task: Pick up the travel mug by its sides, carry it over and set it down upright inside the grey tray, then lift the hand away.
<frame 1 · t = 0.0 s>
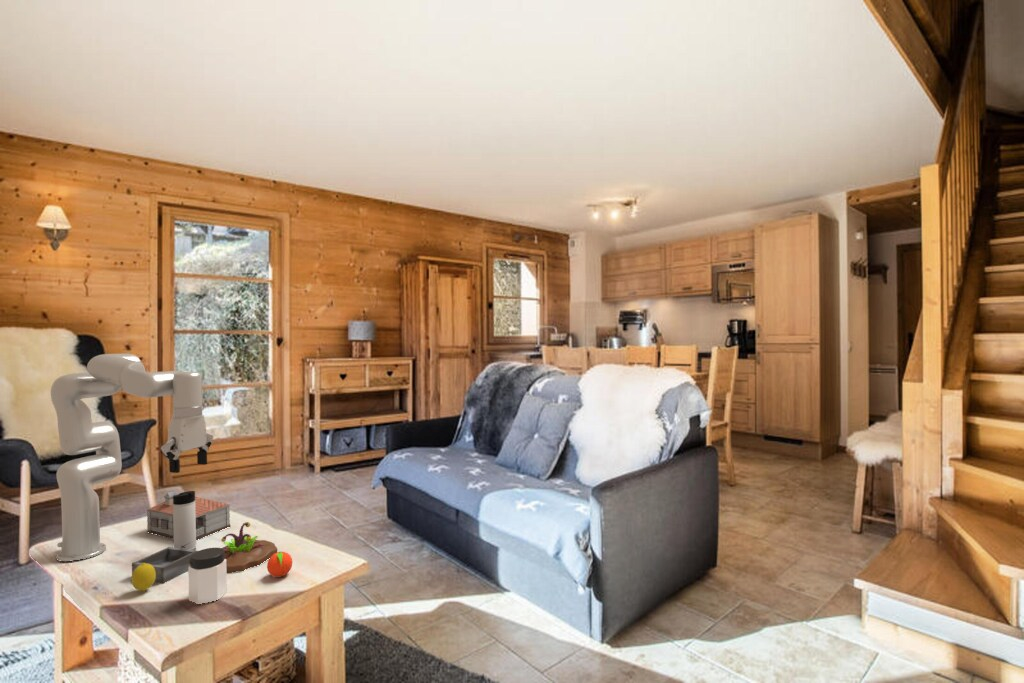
hand: (188, 468, 158), 31 cm above the table, tool pointing down, fingers open, 9 cm apart
travel mug: (185, 552, 171), on the table
plant: (242, 559, 166), on the table
grey tray: (166, 571, 157), on the table
jar: (208, 597, 141), on the table
lemon: (144, 592, 145), on the table
clementine: (280, 577, 153), on the table
model house: (188, 531, 190), on the table
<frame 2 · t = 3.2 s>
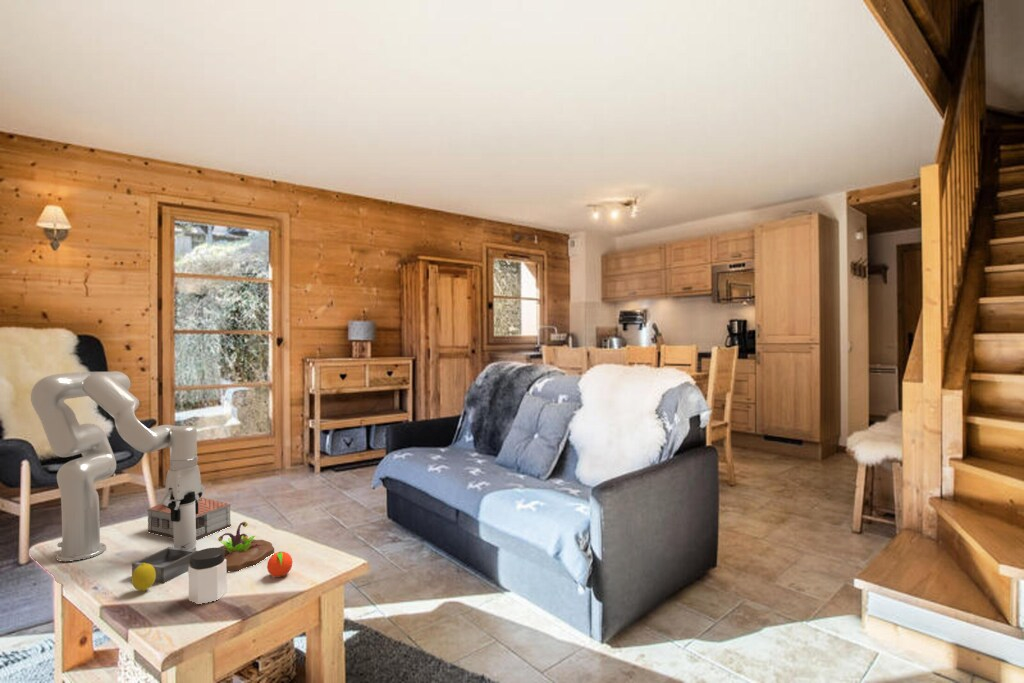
hand: (184, 516, 171), 12 cm above the table, tool pointing down, fingers closed on travel mug, 6 cm apart
travel mug: (185, 552, 171), on the table, touching gripper
plant: (239, 558, 167), on the table
everything else where it was.
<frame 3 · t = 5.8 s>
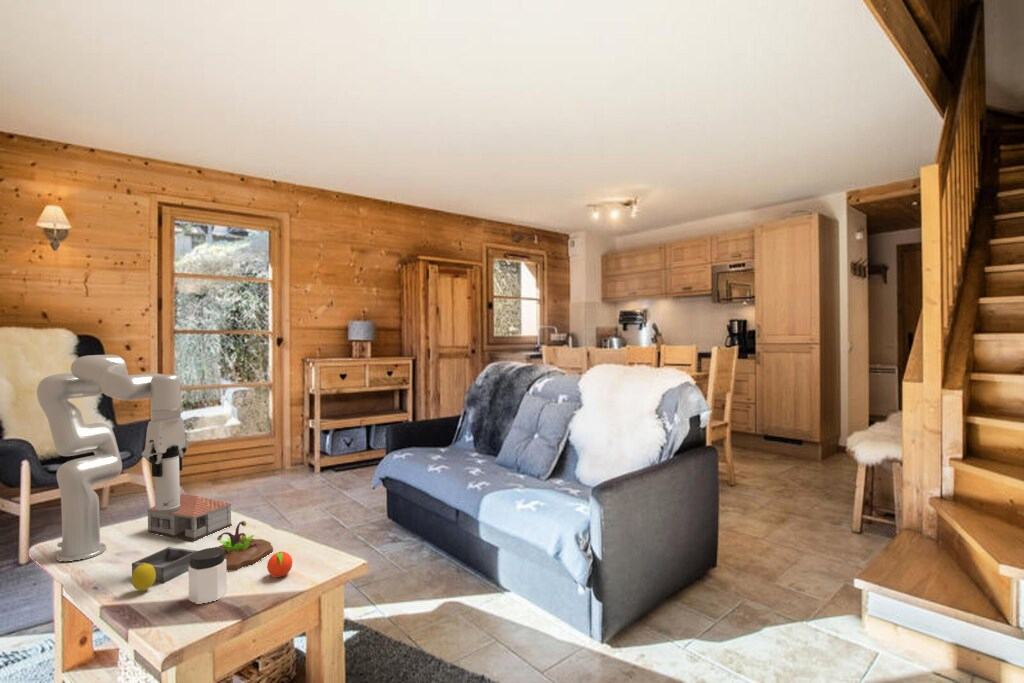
hand: (167, 472, 158), 30 cm above the table, tool pointing down, fingers closed on travel mug, 6 cm apart
travel mug: (168, 511, 158), point 18 cm above the table, touching gripper
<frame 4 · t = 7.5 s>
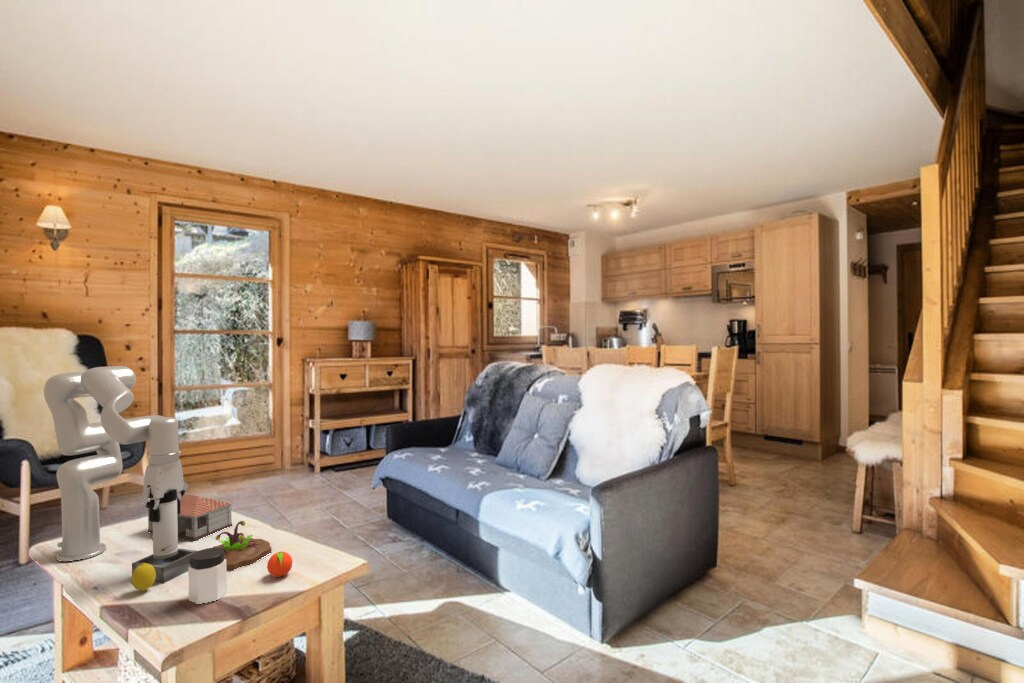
hand: (165, 517, 156), 17 cm above the table, tool pointing down, fingers closed on travel mug, 6 cm apart
travel mug: (166, 555, 157), point 5 cm above the table, touching gripper
when the fingers open (13 cm above the table, at t = 8.7 s): travel mug stays where it is, resting on grey tray.
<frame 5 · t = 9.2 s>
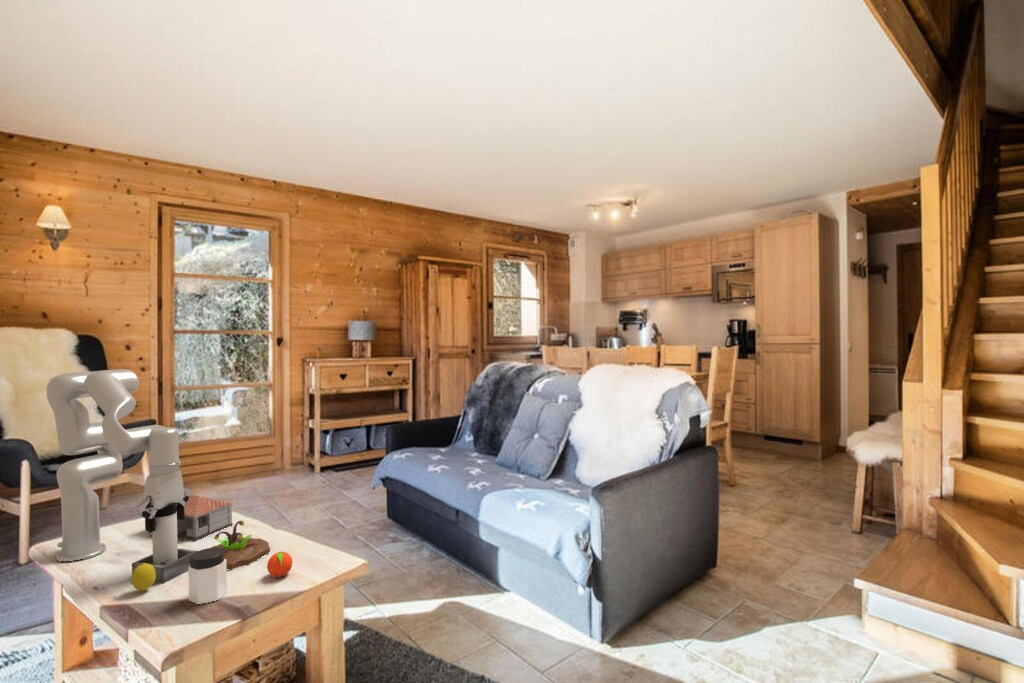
hand: (165, 524, 156), 14 cm above the table, tool pointing down, fingers open, 9 cm apart
travel mug: (166, 568, 157), point 1 cm above the table, touching grey tray
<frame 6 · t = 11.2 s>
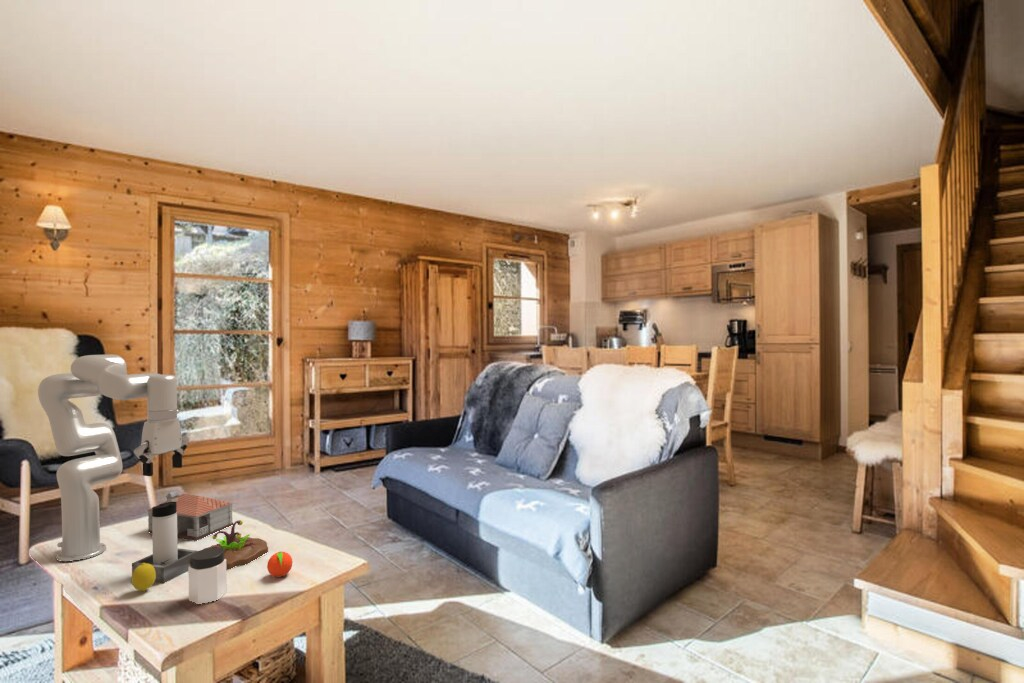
hand: (163, 471, 157), 30 cm above the table, tool pointing down, fingers open, 9 cm apart
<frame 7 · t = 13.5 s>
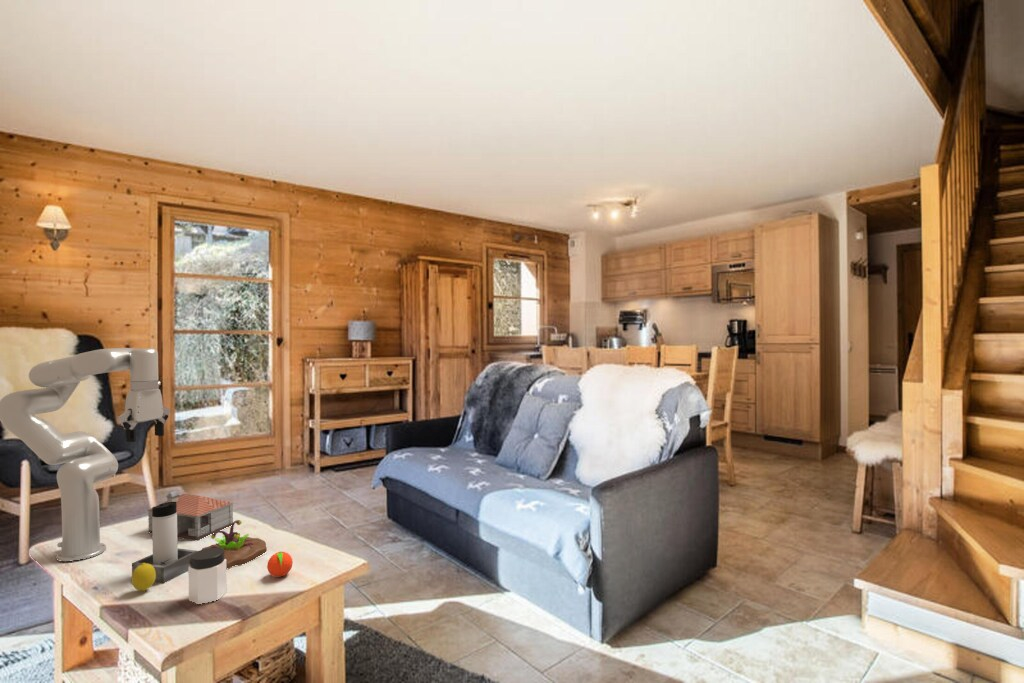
hand: (145, 438, 168), 38 cm above the table, tool pointing down, fingers open, 9 cm apart
at the end: travel mug 0.2 cm off-centre on the grey tray, point 0.8 cm above the grey tray's base; travel mug tilted 0°; the gripper is holding nothing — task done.
